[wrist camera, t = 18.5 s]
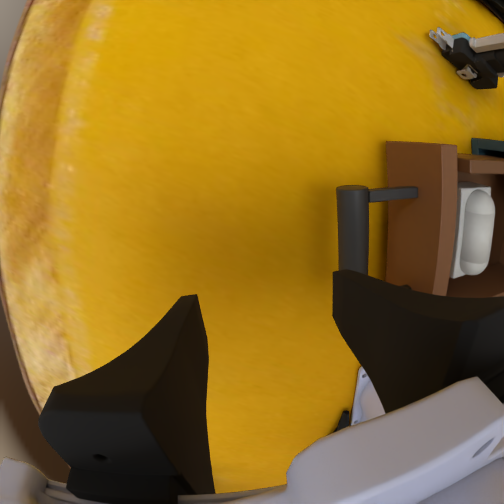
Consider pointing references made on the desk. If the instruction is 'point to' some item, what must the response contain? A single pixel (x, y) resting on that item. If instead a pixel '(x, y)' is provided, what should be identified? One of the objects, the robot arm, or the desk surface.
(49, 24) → the desk surface
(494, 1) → the diary
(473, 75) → the push button
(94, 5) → the desk surface
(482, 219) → the capsule relief tile
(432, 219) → the drawer
